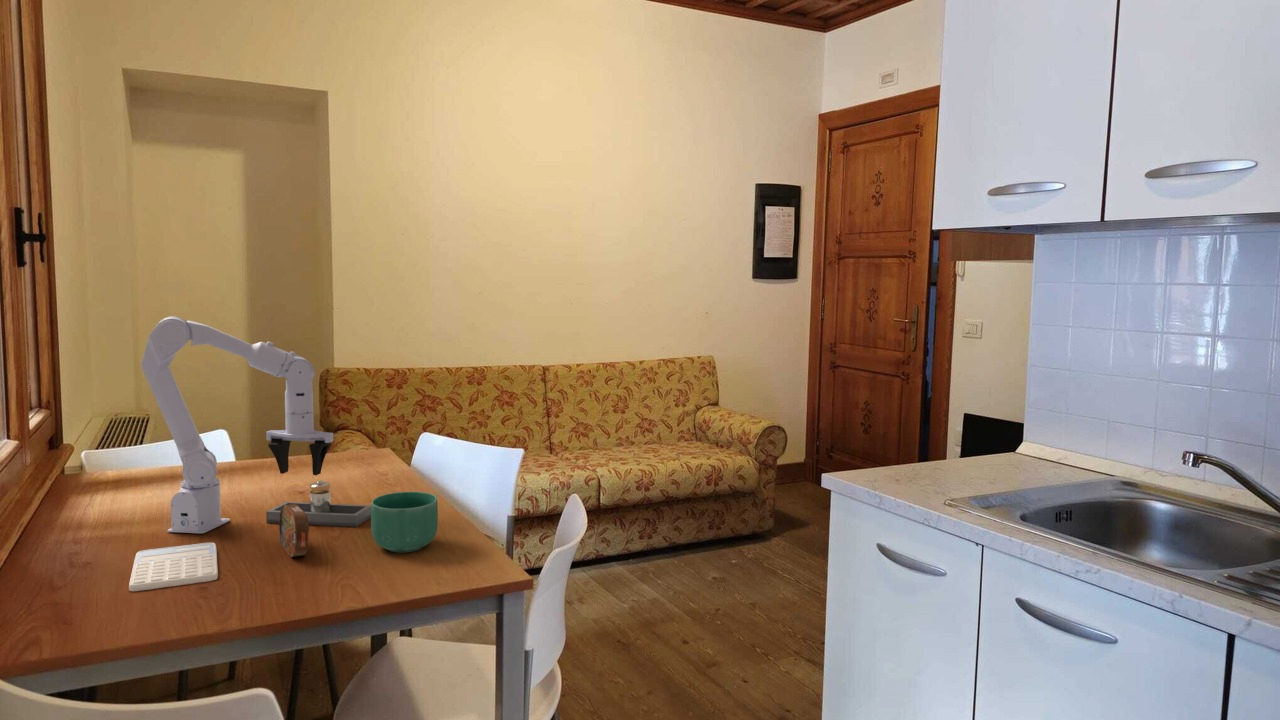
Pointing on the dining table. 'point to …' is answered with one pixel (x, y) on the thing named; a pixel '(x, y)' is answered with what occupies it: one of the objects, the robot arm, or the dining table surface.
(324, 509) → the cell
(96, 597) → the dining table surface
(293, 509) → the tin
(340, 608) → the dining table surface
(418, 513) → the mug
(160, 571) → the calculator
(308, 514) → the trough
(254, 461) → the dining table surface
